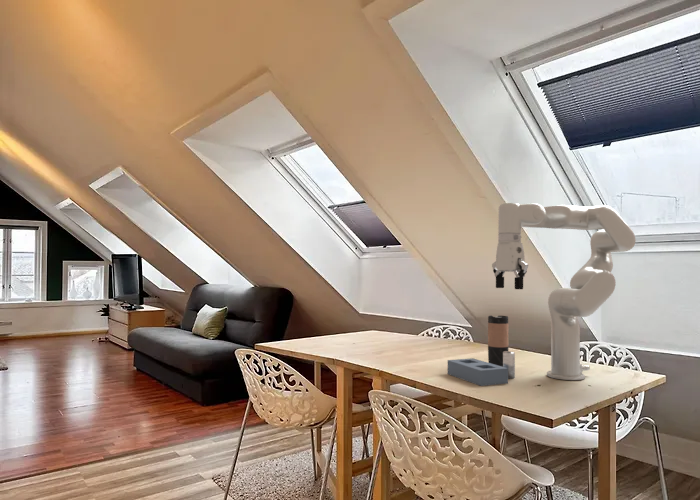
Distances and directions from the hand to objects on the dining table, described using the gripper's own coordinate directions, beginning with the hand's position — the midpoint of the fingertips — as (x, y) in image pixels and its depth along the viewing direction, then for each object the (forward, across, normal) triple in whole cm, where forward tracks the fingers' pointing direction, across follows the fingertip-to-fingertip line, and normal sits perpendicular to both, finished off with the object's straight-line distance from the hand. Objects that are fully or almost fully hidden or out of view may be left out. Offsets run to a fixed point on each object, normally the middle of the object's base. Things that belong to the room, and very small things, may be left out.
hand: (509, 288), depth 182 cm
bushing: (+32, +4, -4) cm, 32 cm away
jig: (+32, +7, +8) cm, 34 cm away
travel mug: (+32, +19, -11) cm, 39 cm away
